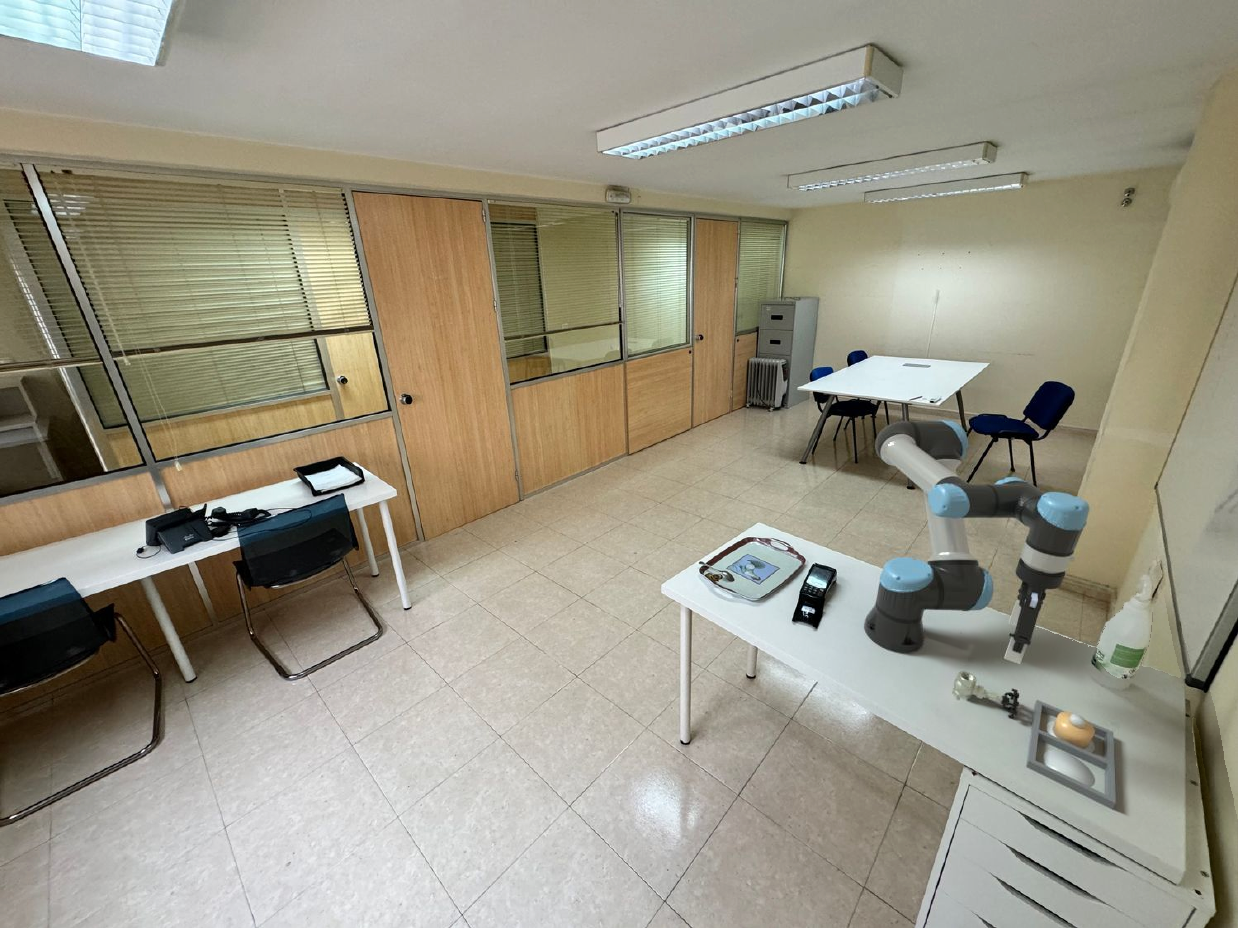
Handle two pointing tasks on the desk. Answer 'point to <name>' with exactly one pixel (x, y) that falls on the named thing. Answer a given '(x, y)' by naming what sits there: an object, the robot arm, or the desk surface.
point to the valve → (983, 692)
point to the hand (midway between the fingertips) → (1014, 642)
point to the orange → (1073, 729)
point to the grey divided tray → (1072, 759)
